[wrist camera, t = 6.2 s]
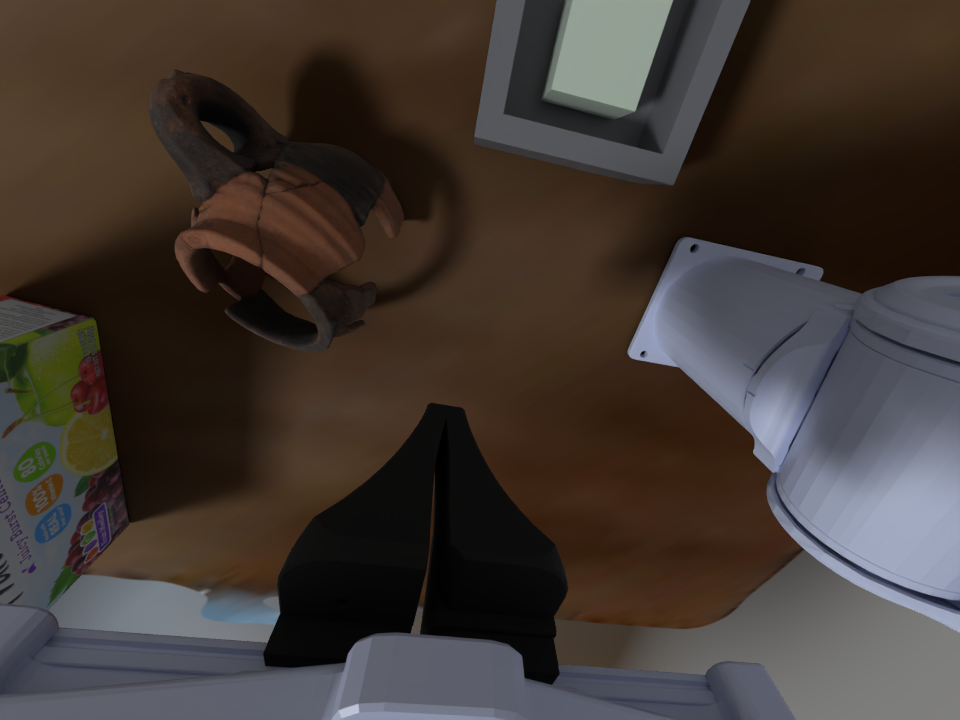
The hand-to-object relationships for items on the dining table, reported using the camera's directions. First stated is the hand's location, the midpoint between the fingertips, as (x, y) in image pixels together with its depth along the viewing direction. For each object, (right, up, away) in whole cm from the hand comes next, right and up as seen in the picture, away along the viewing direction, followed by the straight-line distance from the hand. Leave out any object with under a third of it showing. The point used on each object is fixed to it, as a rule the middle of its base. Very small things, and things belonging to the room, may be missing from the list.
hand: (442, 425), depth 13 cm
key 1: (+6, +16, +2) cm, 17 cm away
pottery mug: (-8, +11, +6) cm, 15 cm away
